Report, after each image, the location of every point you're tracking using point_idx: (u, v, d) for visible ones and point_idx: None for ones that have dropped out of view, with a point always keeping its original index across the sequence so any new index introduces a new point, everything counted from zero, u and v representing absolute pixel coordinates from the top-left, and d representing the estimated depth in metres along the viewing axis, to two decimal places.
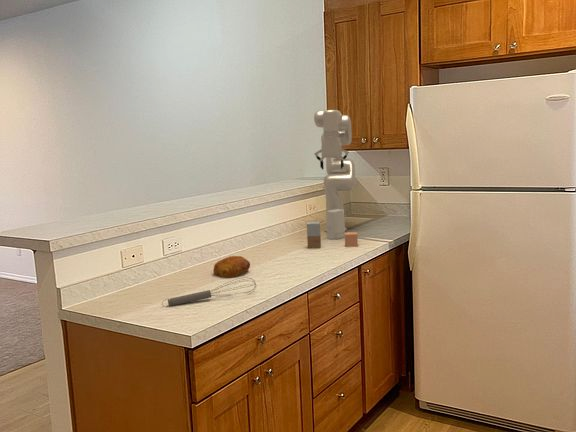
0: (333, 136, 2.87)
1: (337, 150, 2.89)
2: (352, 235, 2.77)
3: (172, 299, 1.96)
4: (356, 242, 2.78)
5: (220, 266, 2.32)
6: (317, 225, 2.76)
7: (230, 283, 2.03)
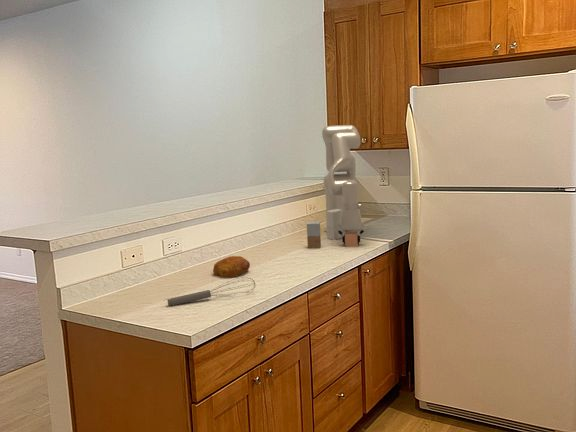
0: (353, 209, 2.75)
1: (357, 223, 2.77)
2: (352, 235, 2.77)
3: (172, 299, 1.96)
4: (356, 242, 2.78)
5: (220, 266, 2.32)
6: (317, 225, 2.76)
7: None
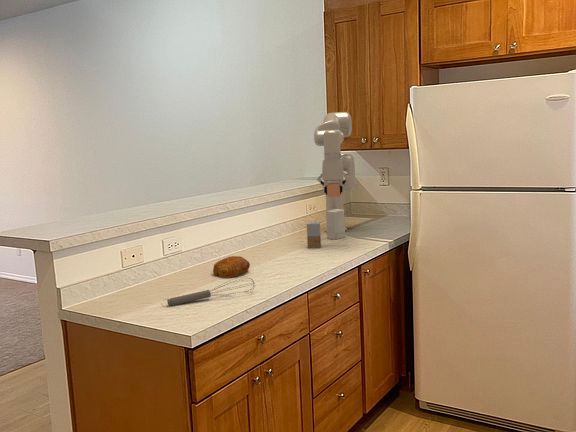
0: (335, 158, 2.71)
1: (339, 173, 2.73)
2: (334, 185, 2.74)
3: (172, 299, 1.96)
4: (338, 192, 2.74)
5: (219, 266, 2.32)
6: (317, 225, 2.76)
7: (229, 283, 2.03)
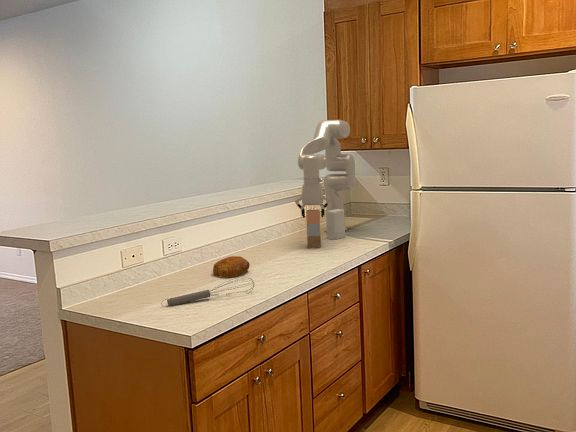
0: (314, 183, 2.73)
1: (318, 198, 2.75)
2: (313, 212, 2.76)
3: (172, 299, 1.96)
4: (317, 219, 2.76)
5: (219, 266, 2.32)
6: (317, 225, 2.76)
7: (229, 282, 2.04)
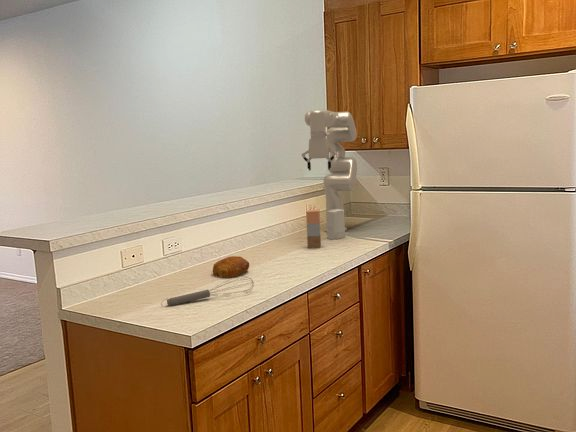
0: (320, 137, 2.84)
1: (324, 151, 2.86)
2: (313, 212, 2.76)
3: (171, 299, 1.96)
4: (317, 219, 2.76)
5: (219, 267, 2.32)
6: (317, 225, 2.76)
7: (228, 282, 2.04)
